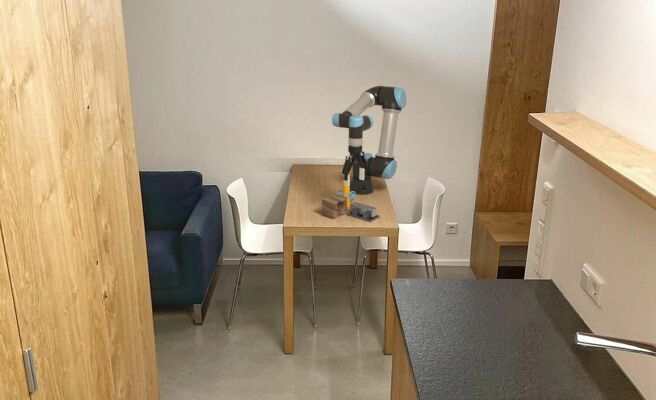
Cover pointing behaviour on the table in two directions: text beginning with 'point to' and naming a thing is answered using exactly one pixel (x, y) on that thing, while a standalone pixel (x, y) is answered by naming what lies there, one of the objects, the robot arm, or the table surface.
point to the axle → (364, 209)
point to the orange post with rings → (347, 193)
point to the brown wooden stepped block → (334, 206)
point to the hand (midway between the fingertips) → (354, 182)
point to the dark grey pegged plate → (364, 217)
